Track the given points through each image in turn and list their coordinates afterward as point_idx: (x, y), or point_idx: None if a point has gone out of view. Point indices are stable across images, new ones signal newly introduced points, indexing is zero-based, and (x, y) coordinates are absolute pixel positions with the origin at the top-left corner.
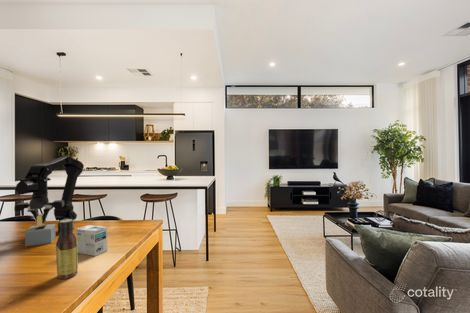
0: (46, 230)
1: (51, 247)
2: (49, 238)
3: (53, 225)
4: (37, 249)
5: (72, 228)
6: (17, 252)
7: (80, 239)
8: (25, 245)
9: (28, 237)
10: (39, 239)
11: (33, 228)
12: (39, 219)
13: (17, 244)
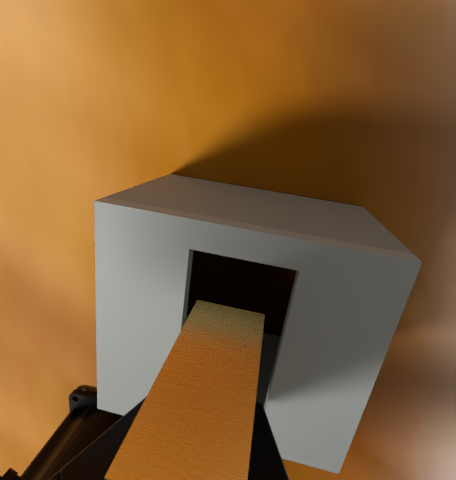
0: (155, 205)
1: (152, 31)
2: (166, 183)
3: (100, 351)
4: (263, 35)
5: (66, 417)
6: (434, 36)
7: None
8: (363, 209)
9: (354, 225)
10: (250, 198)
11: (311, 353)
12: (200, 399)
13: (419, 306)
